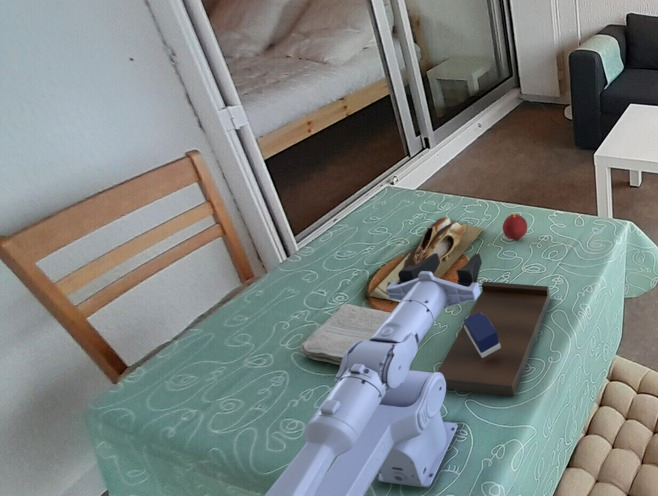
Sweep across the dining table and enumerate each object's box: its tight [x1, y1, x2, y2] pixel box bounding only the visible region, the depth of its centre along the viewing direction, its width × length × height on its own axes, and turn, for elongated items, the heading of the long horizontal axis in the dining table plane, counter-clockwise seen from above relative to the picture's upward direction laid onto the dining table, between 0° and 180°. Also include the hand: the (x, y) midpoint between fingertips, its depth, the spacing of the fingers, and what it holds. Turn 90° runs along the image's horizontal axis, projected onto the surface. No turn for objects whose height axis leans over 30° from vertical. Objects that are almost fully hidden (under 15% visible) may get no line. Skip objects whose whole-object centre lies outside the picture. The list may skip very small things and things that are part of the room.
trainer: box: [463, 312, 501, 358], centre depth 92 cm, size 8×4×4 cm, turn 38°
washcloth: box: [300, 303, 392, 366], centre depth 95 cm, size 12×18×3 cm, turn 78°
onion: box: [502, 212, 528, 241], centre depth 121 cm, size 6×6×8 cm
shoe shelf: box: [436, 281, 551, 397], centre depth 94 cm, size 22×14×4 cm, turn 173°
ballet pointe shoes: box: [368, 217, 485, 303], centre depth 115 cm, size 14×7×28 cm
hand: (457, 258), depth 85 cm, fingers open, 7 cm apart
